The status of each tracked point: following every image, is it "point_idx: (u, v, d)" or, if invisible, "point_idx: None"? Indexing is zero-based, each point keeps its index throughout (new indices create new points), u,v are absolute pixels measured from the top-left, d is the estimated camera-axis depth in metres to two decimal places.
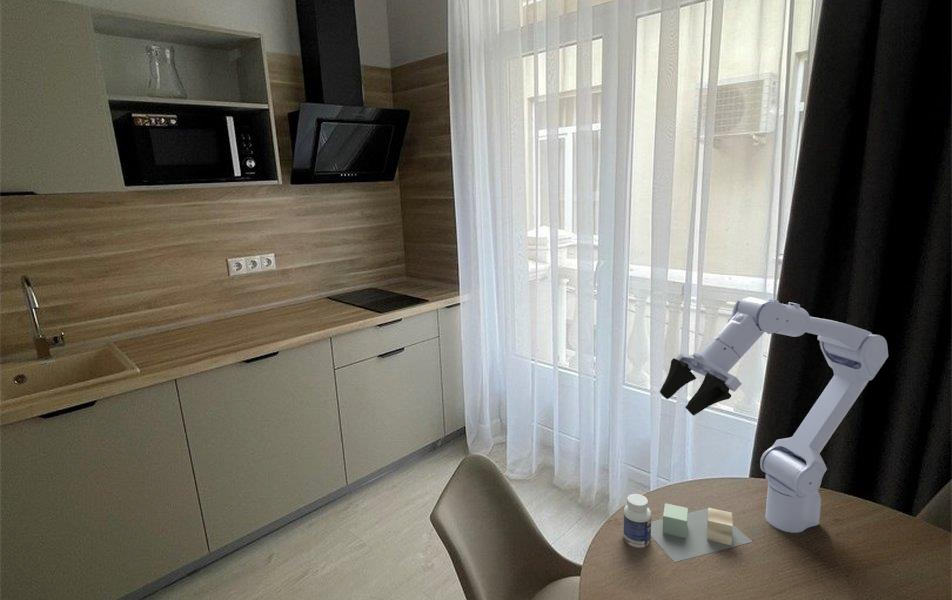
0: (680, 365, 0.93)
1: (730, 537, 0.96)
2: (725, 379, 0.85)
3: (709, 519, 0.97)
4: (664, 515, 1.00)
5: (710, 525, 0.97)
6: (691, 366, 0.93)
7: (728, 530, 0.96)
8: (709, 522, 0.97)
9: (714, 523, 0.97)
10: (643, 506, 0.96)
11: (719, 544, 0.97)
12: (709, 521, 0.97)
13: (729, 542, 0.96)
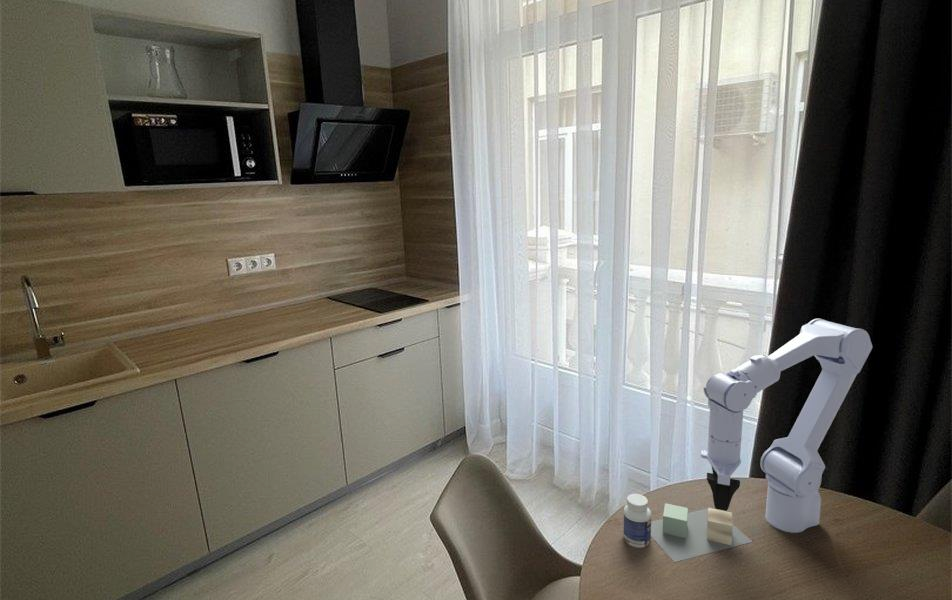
0: None
1: (730, 537, 0.96)
2: (721, 474, 0.91)
3: (709, 519, 0.97)
4: (664, 515, 1.00)
5: (710, 525, 0.97)
6: None
7: (728, 530, 0.96)
8: (709, 522, 0.97)
9: (714, 523, 0.97)
10: (643, 506, 0.96)
11: (719, 544, 0.97)
12: (709, 521, 0.97)
13: (729, 542, 0.96)
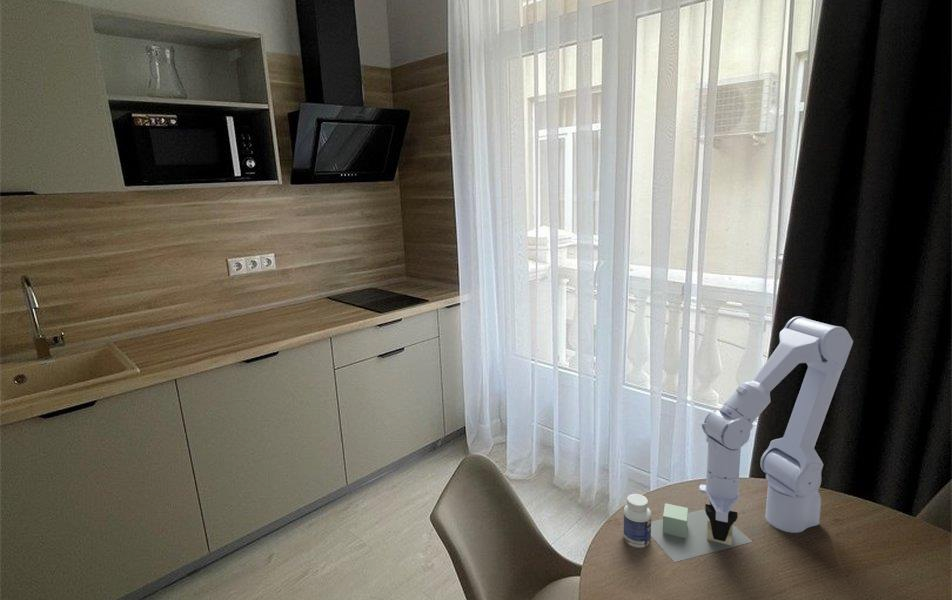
0: None
1: (730, 537, 0.96)
2: None
3: None
4: (664, 515, 1.00)
5: (710, 525, 0.97)
6: None
7: None
8: (709, 522, 0.97)
9: None
10: (643, 506, 0.96)
11: (719, 544, 0.97)
12: (709, 521, 0.97)
13: (729, 542, 0.96)
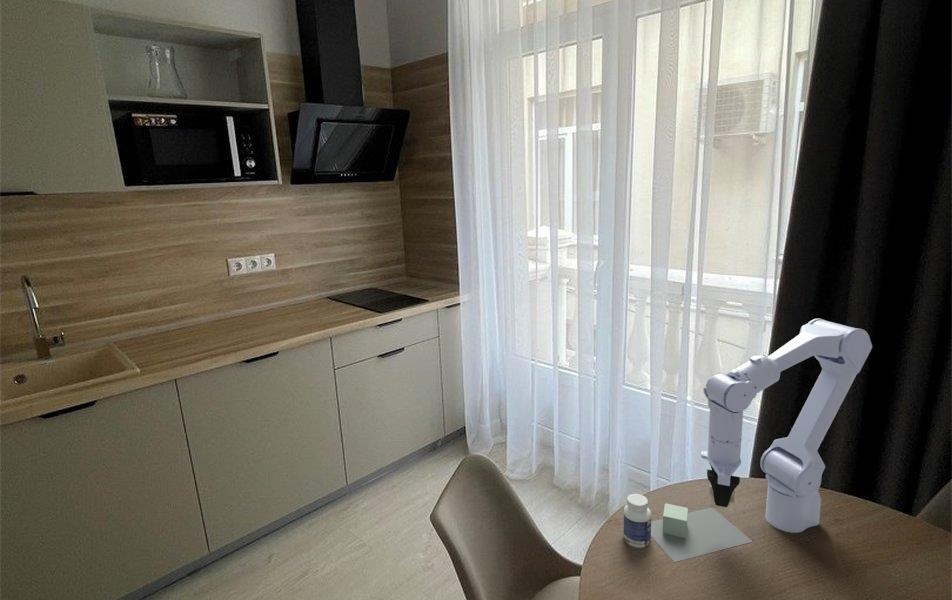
0: None
1: (732, 503, 0.94)
2: (722, 474, 0.91)
3: None
4: (664, 515, 1.00)
5: (712, 491, 0.96)
6: None
7: None
8: (711, 488, 0.95)
9: None
10: (643, 506, 0.96)
11: (719, 544, 0.97)
12: (711, 487, 0.95)
13: (731, 509, 0.95)
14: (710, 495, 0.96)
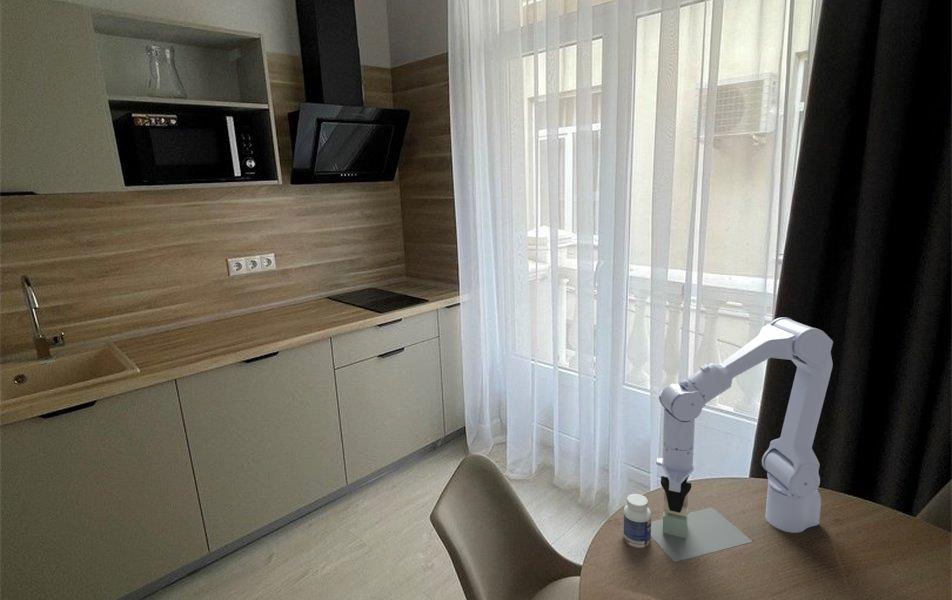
0: None
1: (685, 508, 0.97)
2: None
3: None
4: (664, 515, 1.00)
5: (666, 497, 0.99)
6: None
7: None
8: (665, 494, 0.99)
9: None
10: (643, 506, 0.96)
11: (719, 544, 0.97)
12: (665, 493, 0.99)
13: (684, 514, 0.98)
14: (665, 501, 0.99)
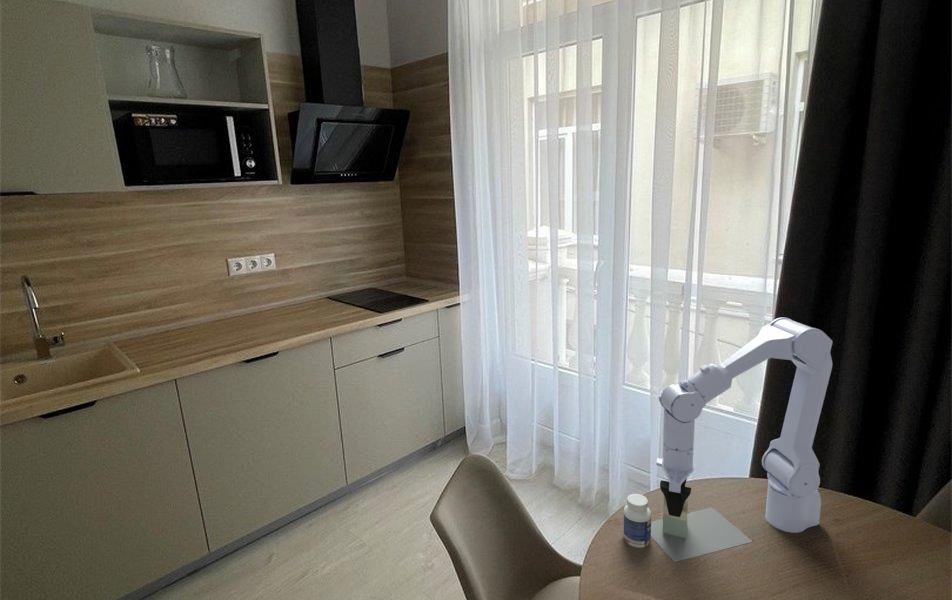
0: None
1: (685, 513, 0.98)
2: (673, 481, 0.94)
3: None
4: None
5: None
6: None
7: (683, 506, 0.98)
8: None
9: None
10: (643, 506, 0.96)
11: (719, 544, 0.97)
12: None
13: (684, 518, 0.98)
14: (664, 505, 0.99)
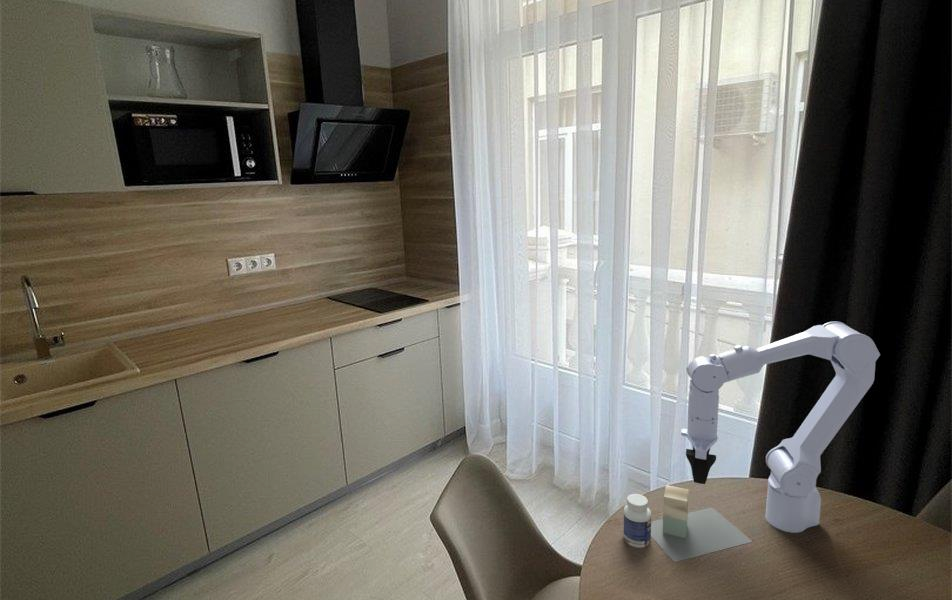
0: None
1: (685, 513, 0.98)
2: None
3: (665, 495, 0.99)
4: None
5: (666, 501, 0.99)
6: None
7: (683, 506, 0.98)
8: (665, 498, 0.99)
9: (670, 499, 0.98)
10: (643, 506, 0.96)
11: (719, 544, 0.97)
12: (665, 497, 0.99)
13: (684, 518, 0.98)
14: (664, 505, 0.99)
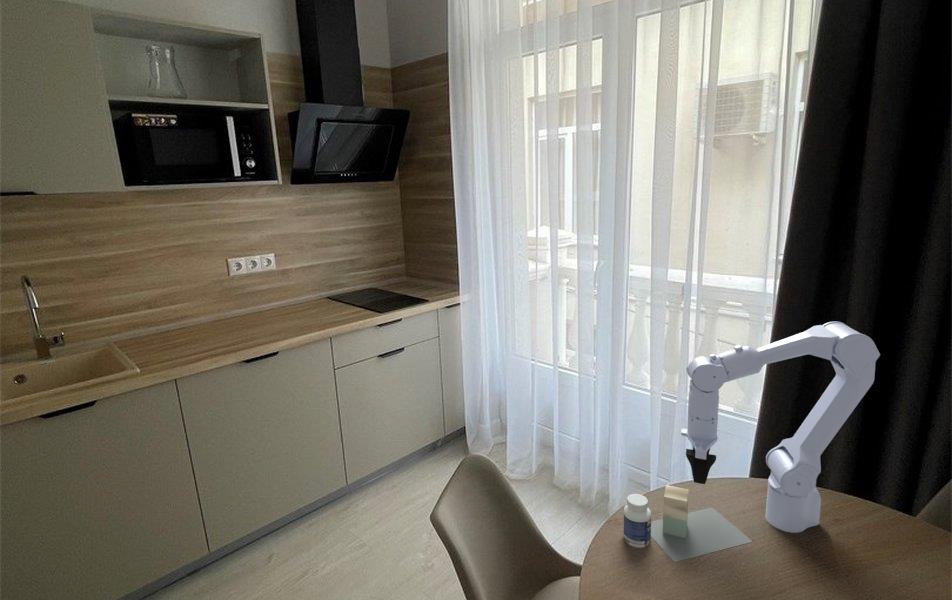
0: None
1: (685, 513, 0.98)
2: (699, 449, 0.98)
3: (665, 495, 0.99)
4: None
5: (666, 501, 0.99)
6: None
7: (683, 506, 0.98)
8: (665, 498, 0.99)
9: (670, 499, 0.98)
10: (643, 506, 0.96)
11: (719, 544, 0.97)
12: (665, 497, 0.99)
13: (684, 518, 0.98)
14: (664, 505, 0.99)
